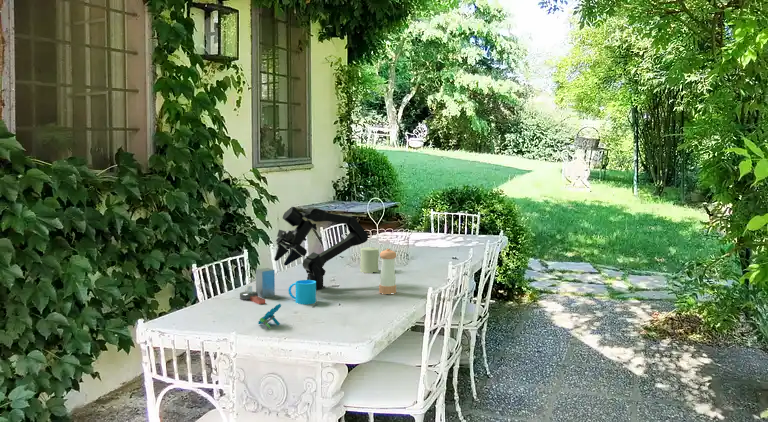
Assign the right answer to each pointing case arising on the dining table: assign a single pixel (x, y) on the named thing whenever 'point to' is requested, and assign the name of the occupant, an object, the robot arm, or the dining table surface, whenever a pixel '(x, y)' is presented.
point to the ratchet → (251, 296)
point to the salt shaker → (387, 272)
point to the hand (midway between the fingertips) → (279, 262)
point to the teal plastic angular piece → (270, 316)
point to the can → (369, 260)
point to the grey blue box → (265, 282)
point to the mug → (304, 291)
